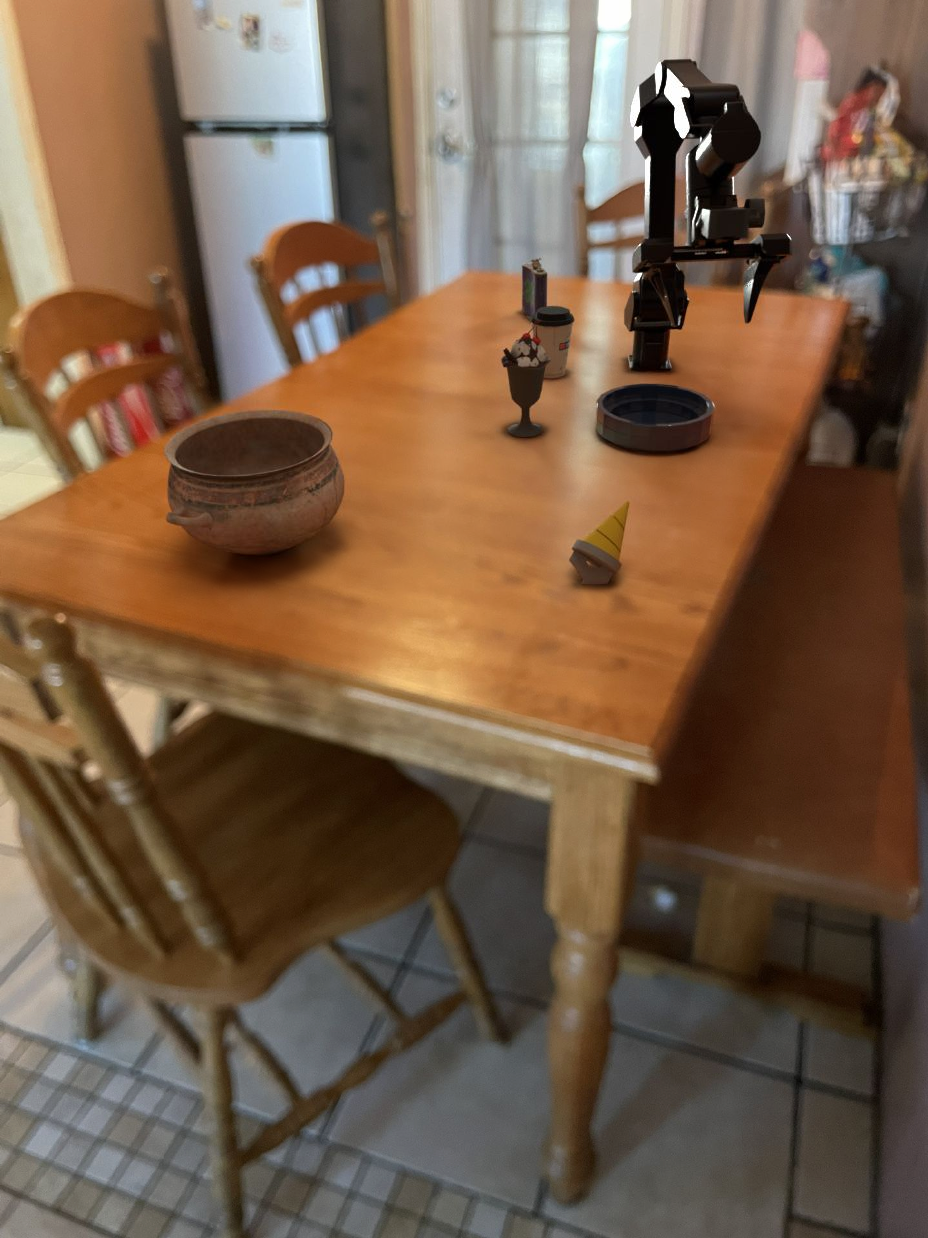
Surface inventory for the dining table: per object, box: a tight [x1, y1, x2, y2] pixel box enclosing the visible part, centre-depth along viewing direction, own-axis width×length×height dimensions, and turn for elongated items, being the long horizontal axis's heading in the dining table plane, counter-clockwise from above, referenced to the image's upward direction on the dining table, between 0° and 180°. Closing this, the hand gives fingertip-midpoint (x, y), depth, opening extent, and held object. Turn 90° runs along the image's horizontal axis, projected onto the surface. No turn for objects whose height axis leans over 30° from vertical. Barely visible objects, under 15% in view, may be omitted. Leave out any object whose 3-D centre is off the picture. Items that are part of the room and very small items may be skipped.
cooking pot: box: [164, 409, 345, 557], centre depth 100 cm, size 25×19×12 cm
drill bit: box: [568, 500, 630, 585], centre depth 94 cm, size 5×5×10 cm
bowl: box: [594, 383, 716, 454], centre depth 125 cm, size 16×16×4 cm
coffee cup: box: [529, 305, 576, 379], centre depth 144 cm, size 7×7×10 cm
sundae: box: [501, 320, 551, 438], centre depth 124 cm, size 7×7×15 cm
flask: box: [521, 257, 548, 319], centre depth 170 cm, size 9×3×11 cm, turn 17°
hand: (711, 324), depth 115 cm, fingers open, 9 cm apart
